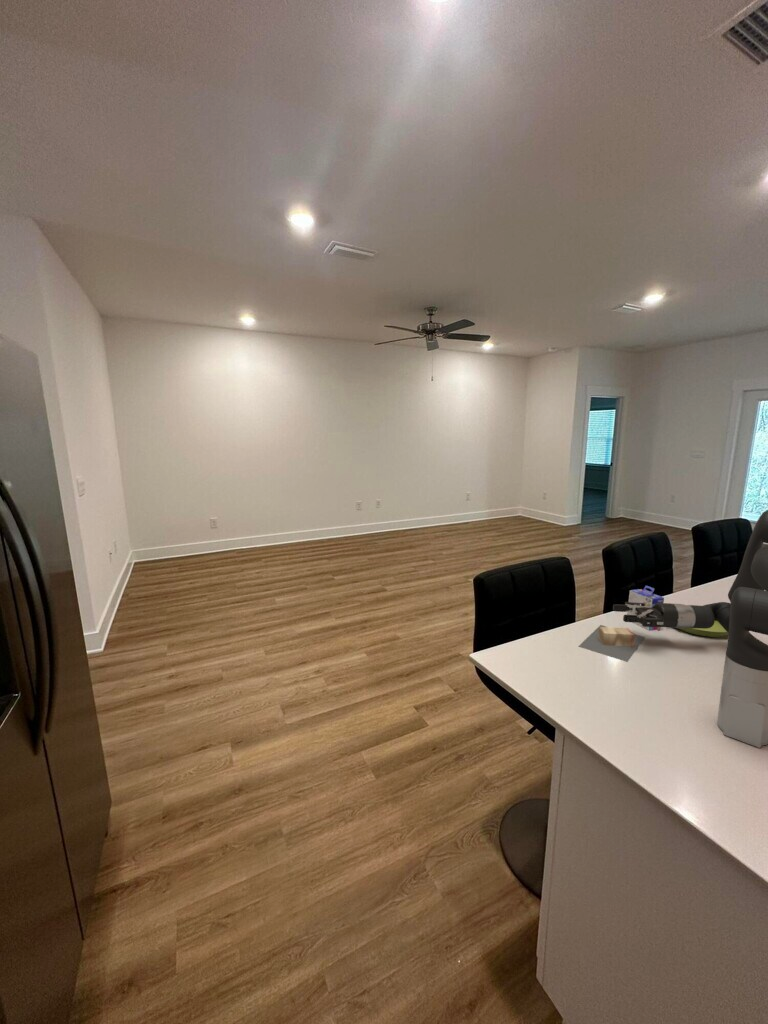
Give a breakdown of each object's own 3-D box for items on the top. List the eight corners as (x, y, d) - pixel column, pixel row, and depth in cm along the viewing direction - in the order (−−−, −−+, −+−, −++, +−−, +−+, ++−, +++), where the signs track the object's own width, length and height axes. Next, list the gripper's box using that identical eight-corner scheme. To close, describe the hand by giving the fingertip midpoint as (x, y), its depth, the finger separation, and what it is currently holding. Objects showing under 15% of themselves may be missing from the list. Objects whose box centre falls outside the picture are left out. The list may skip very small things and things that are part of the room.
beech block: (598, 637, 137) (627, 639, 136) (603, 644, 132) (633, 646, 131) (598, 626, 137) (628, 628, 135) (604, 633, 132) (634, 634, 130)
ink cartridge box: (661, 630, 143) (665, 591, 141) (649, 632, 142) (653, 592, 140) (637, 619, 153) (641, 582, 151) (625, 621, 151) (628, 583, 149)
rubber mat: (627, 663, 122) (627, 661, 122) (578, 648, 132) (578, 646, 132) (645, 638, 138) (645, 637, 137) (600, 626, 147) (600, 624, 147)
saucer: (751, 640, 136) (752, 631, 136) (689, 641, 136) (690, 632, 135) (703, 615, 156) (704, 607, 156) (649, 615, 156) (650, 608, 156)
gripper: (663, 596, 136) (610, 594, 139) (687, 613, 122) (628, 610, 125) (661, 617, 137) (609, 615, 140) (684, 636, 124) (626, 633, 126)
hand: (618, 612), depth 132 cm, fingers open, 8 cm apart
